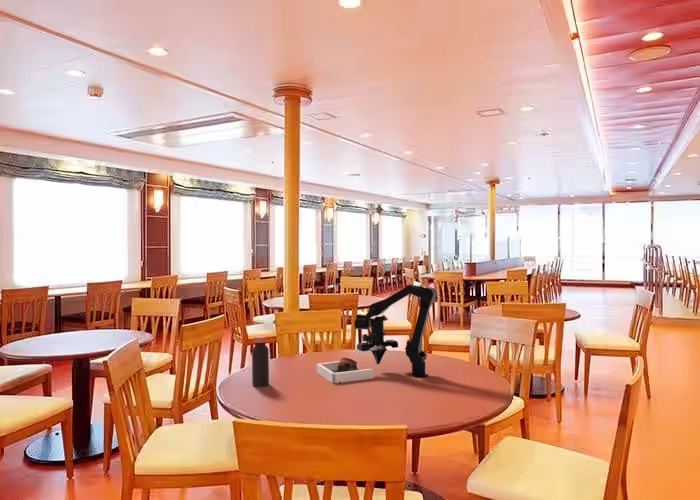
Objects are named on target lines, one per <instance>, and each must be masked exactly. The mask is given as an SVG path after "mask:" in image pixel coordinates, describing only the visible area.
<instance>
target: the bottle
mask: <svg viewBox="0 0 700 500" xmlns="http://www.w3.org/2000/svg"><path fill="white" fill-rule="evenodd" d="M253 338H254V339H253V342H254V346H253V347H252V350H251V369H252V370H251V374H252V375H251V378H252V379H251V382H252V386H253V385H254V386H253V387H257V386H262V387H265V386H264V385H267V384H268V385H269V384H270V371H269V370H270V367H269V366H270V364H269V363H270V361H269V358H270V354H269V353H270V352H269V350H270V349H269V347H268V346H267V345H266V343H267V336H266V335H256V336H254V337H253ZM268 385H267V386H268Z"/></svg>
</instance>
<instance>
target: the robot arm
mask: <svg viewBox="0 0 700 500" xmlns="http://www.w3.org/2000/svg"><path fill="white" fill-rule="evenodd" d="M437 294H438V293H437V290H436V289H435V288H434V287H433V286H432V287H431V286H429V287H425V286H424V287H423V286H419V285H415V284H413V283H412V284H411V283H410V284H407V285H406V286H405V287H403V288H401V289H400V290H398V291H396V292H394V293H393V294H391V295H390V296H388V297H386V298H384V299H382V300H379V301H376V302H373V303H371V304H370V305H369V308H368V311H367V313H366V314H360V313H358V314H356V316H355V319H354V322H353V323H354V328H355V329H356V330H369V329H370V331H369V335H368V334H367V333H365V334H362V335H361V339H362V342H358V343H357V345H356V350H358V351H360V352H368V351H371V353H372V355H373V357H374V361H375V363H376V365H380V363H381V361H382V358H383V357H384V355H385V353H386V351H388V349H387V347H391V348H392V349H396V348H399V343H398V341H397V340H394V339H387V340H385V338H384V337H385V335H386V332H384V331H385V328H384V327H385V326H384V325H385V324H384V322H386V321H389V320H388V317H387V316H386V315H385V314H384V313H385V312H386V311H387V310H389V308H390V307H391V306H392V305H394V304H396V303H398V302H399V301H401V300H402V299H405V298H406V297H407V296H409V295H412V296H415V297H418V298H419V310H418V314H417V319H416V322H415V327H414V331H413V334H412V337H411V338H408V339H407V340H406V345H405V347H404V350H405V354H406V356H407V358H408V359H409V361H410V364H411V372H408V375H410V376H412V377H414V378H421V377H429V374H428V373H426V361H427V360H426V359H427V357H428V355H427V354H426V353H425V351H424V350H423V345H424V344H423V336H424V331H425V328H426V325H427V321H428V317H429V313H430V309H431V308H432V306H433V304H434V302H435V300H436V298H437ZM380 315H382V316H380ZM425 360H426V361H425Z"/></svg>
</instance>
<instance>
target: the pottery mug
mask: <svg viewBox="0 0 700 500" xmlns="http://www.w3.org/2000/svg"><path fill="white" fill-rule="evenodd" d="M354 360H355V359H352V358H349V357H341V359H340V360H339V361H340V362H339V363H338V369H337V370H336V371H335V373H338V372H347V371H355V370H358V366H357V365H358V362H357V360H356V361H354Z"/></svg>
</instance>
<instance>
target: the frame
mask: <svg viewBox="0 0 700 500" xmlns="http://www.w3.org/2000/svg"><path fill="white" fill-rule="evenodd" d="M353 360H354V361H356V362H357V360H356V359H353ZM340 361H341V360H338V361H331V362H330V361H329V362H320V363H316V364H315V365H316V366H315V368H316V369H315V370H316V372H317V373H316V374H318V375H319V374H320V376H321V377H322V376H323V377H322V378H324V379H325V378H326V379H325V380H327V381H328V382H330V383H331V382H332V383H331V384H339V382H341V383H347V382H355V381H364V380H371V379H373V380H374V379H375V368H367V369H357V370H353V371H347V372H338V373H336V370H337V369H338V363H339V362H340Z"/></svg>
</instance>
